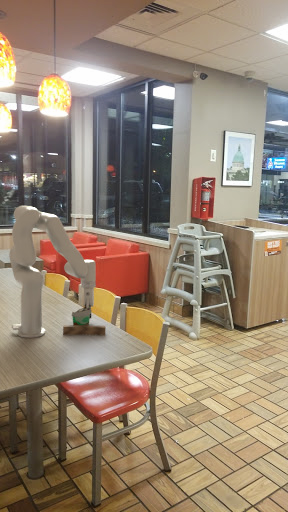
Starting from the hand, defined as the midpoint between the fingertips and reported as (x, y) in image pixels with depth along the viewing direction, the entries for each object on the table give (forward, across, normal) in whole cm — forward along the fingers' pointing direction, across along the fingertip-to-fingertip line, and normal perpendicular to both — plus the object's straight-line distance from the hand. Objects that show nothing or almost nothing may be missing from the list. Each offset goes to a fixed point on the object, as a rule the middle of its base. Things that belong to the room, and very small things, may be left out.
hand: (88, 317), depth 205 cm
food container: (+3, -9, +2) cm, 9 cm away
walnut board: (+3, -17, +1) cm, 17 cm away
